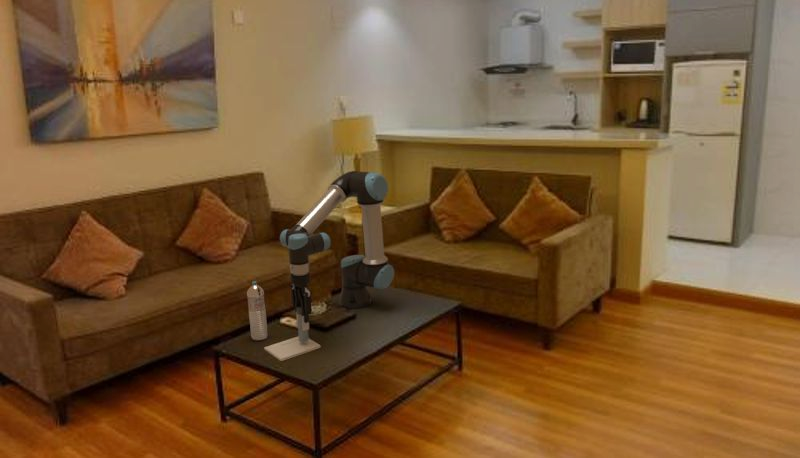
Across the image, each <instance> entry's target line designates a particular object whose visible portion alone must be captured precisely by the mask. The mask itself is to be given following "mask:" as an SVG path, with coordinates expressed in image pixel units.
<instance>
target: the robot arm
mask: <svg viewBox="0 0 800 458" xmlns="http://www.w3.org/2000/svg"><path fill="white" fill-rule="evenodd" d="M387 193H389V185H388V181H387V179H386V178H385V176H384V175H382V173H378V172H373V171H360V170H359V171H358V170H351V171H346V173H344V174H341V175H340V176H338V177H337V178H336V179H335V180H333V181H332V183H330V185H329V186H328V187H327V190H326V192H325V193H324V194H323V195H322V196H321V197H320V198H319V199H318V201H316V203H315V204H313V205H312V207H311V208H310V209H309V210H308V211H307V212H306V213H305V214H304V215H303V216H302V217H301V219H299V220H298V221H297V223H296V224H295V225H294V226H293V227H292V228H288V229H287V228H286V229H283V231H281V233H280V235H279V241H280V245H282V246H283V247H285V248H288V257H289V258H288V259H289V273H290V274H289V275H290V276H289V277H290V283H291V284H290V285H289V286H290V292H291V300H292V301H291V304H292V309H294V312H295V313H296V318H297V307H298V306H302V313H303V314H301V316H302V330H303V331H304V330H308V331H309V330H310V319H309V317H310V315H311V314H312V312H313V310H312V309H313V308H312V306H313V305H312V294H313V292H312V291H309V288H308V284H309V283H310V281H311V278H310V277H311V275H310V258H309V257H310V256H312V255H315V254H319V253H323V252H325V251H327V250H329V249H330V247H331V237H330V235H328V234H327V233H326V232H318V233H314V232H315V231H316V230H317V228H318V227H320V225H322V223H323V222H324V221H325V219H326V218H328V216H329V215H330V214H331V213H332V212H333V211H334V210H335V209H336V208H337V207H338V206H339V204H340V203H344V202H345V201H346V200H347V199H349V198H352V197H353V198H356V201H357V205H358V206H360V208H361V219H362V221H361V222H362V229H363V230H362V232H363V242H364V243H363V244H364V252H365V254H353V255H348V256H345V257H343V258H342V259H341V260H340V273H341V274H340V275H341V285H342V286H341V287H342V288H341V292H340V296H339V299H338V300H339V305H340V306H341V305H342V306H345V307H347V308H346V309H362V308H365V307H368V306H370V305H371V303H372V297H371V294H370V292H369V288H374V289H377V290H384V289H387V288H388V287H390V285H391V283H392V282H393V280H394V276H395V269H394V266H392V265H391V264H389V259H388V257H387V256H386V255H385V250H384V236H383V223H382V221H383V220H382V208H381V205H382V204H383V203H384V200H385V198H386V197H387V195H388V194H387ZM342 306H341V307H342ZM345 307H344V308H345ZM296 327H297V328H298V320H297V319H296Z"/></svg>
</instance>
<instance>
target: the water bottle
mask: <svg viewBox="0 0 800 458" xmlns="http://www.w3.org/2000/svg"><path fill="white" fill-rule="evenodd" d="M251 284H252V285H251V286H250V287H249V288H248V289H247V292H246V296H247V305H248V316H249V317H248V318H249V325H250V336H251V337H250V338H251V340H253V341H256V342H257V341H264V340H265V339H267V338H268V335H269V334H268V325H267V324H268V323H267V312H266V305H265V291H264V289H263V288H262V287H261V286H260V285H258V282H257V281H256V280H254V281H252V282H251Z"/></svg>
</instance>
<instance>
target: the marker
mask: <svg viewBox="0 0 800 458" xmlns="http://www.w3.org/2000/svg"><path fill="white" fill-rule="evenodd" d="M301 314H303V313H302V306H298V307H297V317H296V321H297V320H298V327H297V333H298V334H297V335H298V336H299V341H300V342H306V341H308V340H309V339H310V337H309V329H308V330H304V331H303V330H302V316H301ZM298 336H297V337H298Z"/></svg>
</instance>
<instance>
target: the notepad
mask: <svg viewBox="0 0 800 458" xmlns="http://www.w3.org/2000/svg"><path fill="white" fill-rule="evenodd" d="M320 348H321V345H320V344H319V343H318V342H315V341H314V340H312V339H311V338H309V340H308V341H306V342H300V341H299V336H295V337H292V338H289V339H286V340H283V341H280V342H277V343H273V344H271V345H268V346H264V347H263V349H264V351H266V352H267V353H268V354H270V355H271V356H272V357H274V358H276V359H277V360H278V361H280V362H282V361H283V362H284V361H285V360H289V359H291V358H294V357H297V356H300V355H304V354H306V353H310V352H312V351H315V350H317V349H318V350H319V349H320Z"/></svg>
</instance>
